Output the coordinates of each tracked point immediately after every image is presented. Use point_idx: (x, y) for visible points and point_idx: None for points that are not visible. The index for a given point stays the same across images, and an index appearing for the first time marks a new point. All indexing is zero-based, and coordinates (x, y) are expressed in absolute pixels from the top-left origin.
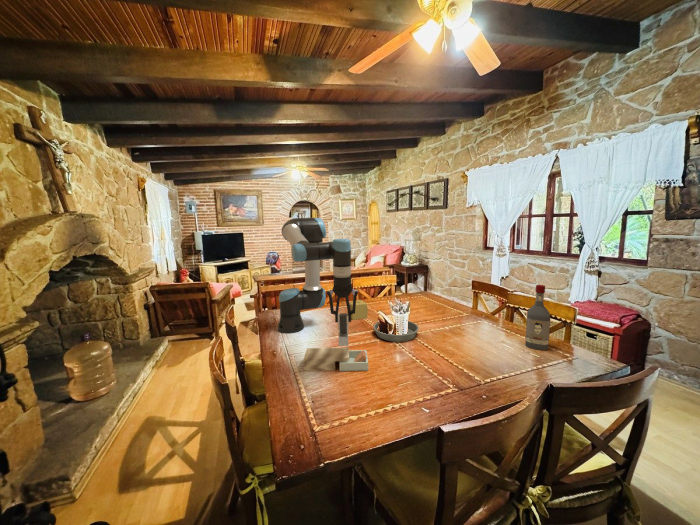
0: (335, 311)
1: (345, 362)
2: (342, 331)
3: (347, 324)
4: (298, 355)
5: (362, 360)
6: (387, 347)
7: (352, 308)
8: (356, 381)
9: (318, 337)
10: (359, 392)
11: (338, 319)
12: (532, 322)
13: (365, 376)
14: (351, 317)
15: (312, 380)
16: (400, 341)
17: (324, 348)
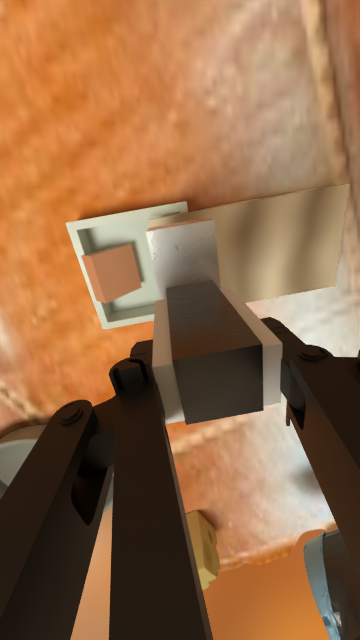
0: (351, 377)
1: (162, 213)
2: (196, 286)
3: (162, 317)
4: (336, 299)
5: (99, 251)
6: (56, 388)
7: (101, 493)
8: (100, 122)
9: (281, 412)
10: (62, 10)
11: (256, 323)
12: None
13: (75, 171)
14: (201, 518)
15: (277, 111)
16: (25, 427)
17: (264, 293)
